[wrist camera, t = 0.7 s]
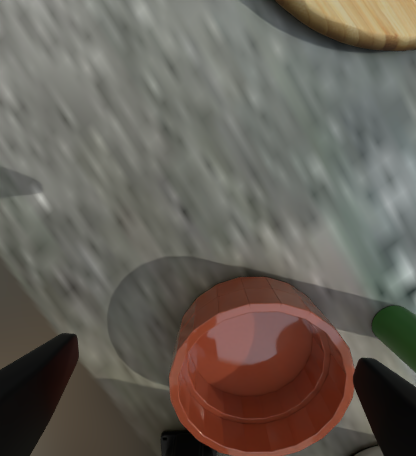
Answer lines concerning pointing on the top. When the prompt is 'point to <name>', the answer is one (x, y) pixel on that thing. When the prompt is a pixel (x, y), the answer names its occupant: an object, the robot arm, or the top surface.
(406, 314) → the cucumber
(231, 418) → the pot
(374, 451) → the cylinder vase
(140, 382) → the top surface
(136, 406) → the top surface
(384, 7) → the wooden plate
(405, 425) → the robot arm
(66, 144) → the top surface
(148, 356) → the top surface
